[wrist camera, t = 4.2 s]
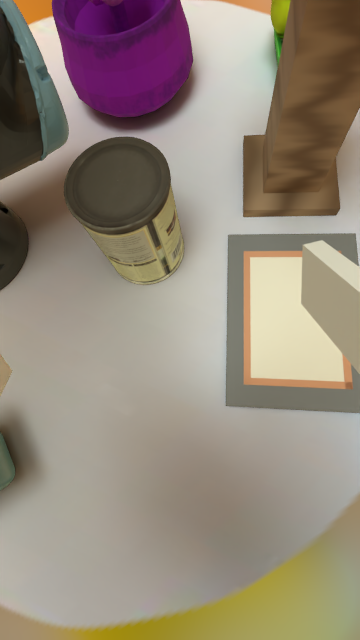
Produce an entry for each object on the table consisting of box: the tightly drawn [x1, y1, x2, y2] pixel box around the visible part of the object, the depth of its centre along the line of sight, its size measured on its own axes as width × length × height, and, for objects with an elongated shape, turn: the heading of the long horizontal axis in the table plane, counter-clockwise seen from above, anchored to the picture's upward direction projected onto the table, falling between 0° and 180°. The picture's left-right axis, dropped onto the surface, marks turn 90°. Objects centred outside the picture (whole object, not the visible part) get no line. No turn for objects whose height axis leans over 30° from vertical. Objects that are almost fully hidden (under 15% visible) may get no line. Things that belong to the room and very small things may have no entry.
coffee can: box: [64, 137, 184, 285], centre depth 36 cm, size 10×10×14 cm
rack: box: [243, 0, 360, 217], centre depth 30 cm, size 12×12×28 cm
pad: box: [226, 234, 360, 413], centre depth 38 cm, size 16×22×1 cm
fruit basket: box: [271, 0, 291, 65], centre depth 43 cm, size 11×9×11 cm
